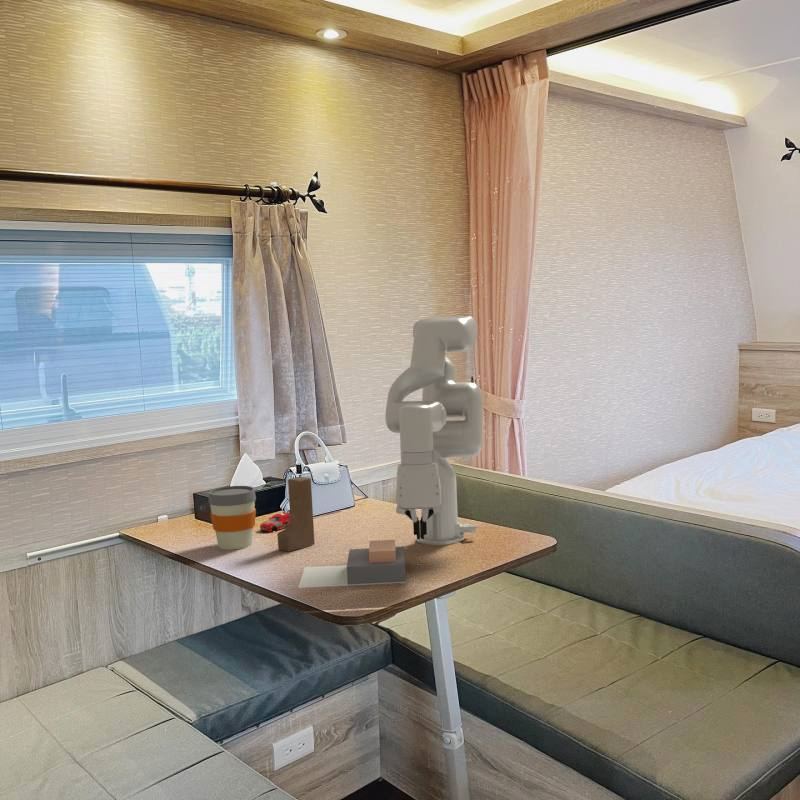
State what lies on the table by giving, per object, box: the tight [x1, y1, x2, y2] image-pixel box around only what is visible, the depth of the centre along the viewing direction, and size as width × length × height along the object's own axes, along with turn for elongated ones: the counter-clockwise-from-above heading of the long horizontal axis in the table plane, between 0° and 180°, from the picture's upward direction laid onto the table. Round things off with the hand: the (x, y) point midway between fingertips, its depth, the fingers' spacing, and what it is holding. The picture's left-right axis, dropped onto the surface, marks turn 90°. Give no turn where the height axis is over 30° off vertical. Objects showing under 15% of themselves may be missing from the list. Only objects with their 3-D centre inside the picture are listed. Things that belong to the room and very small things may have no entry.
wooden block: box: [277, 476, 315, 553], centre depth 215 cm, size 9×4×18 cm, turn 136°
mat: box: [297, 564, 407, 589], centre depth 190 cm, size 24×15×1 cm, turn 91°
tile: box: [368, 539, 396, 563], centre depth 189 cm, size 6×9×2 cm, turn 1°
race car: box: [259, 512, 290, 533], centre depth 238 cm, size 13×5×4 cm, turn 138°
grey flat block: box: [346, 546, 407, 586], centre depth 189 cm, size 13×14×4 cm
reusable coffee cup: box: [208, 485, 257, 551], centre depth 220 cm, size 13×13×15 cm
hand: (420, 537), depth 188 cm, fingers closed
